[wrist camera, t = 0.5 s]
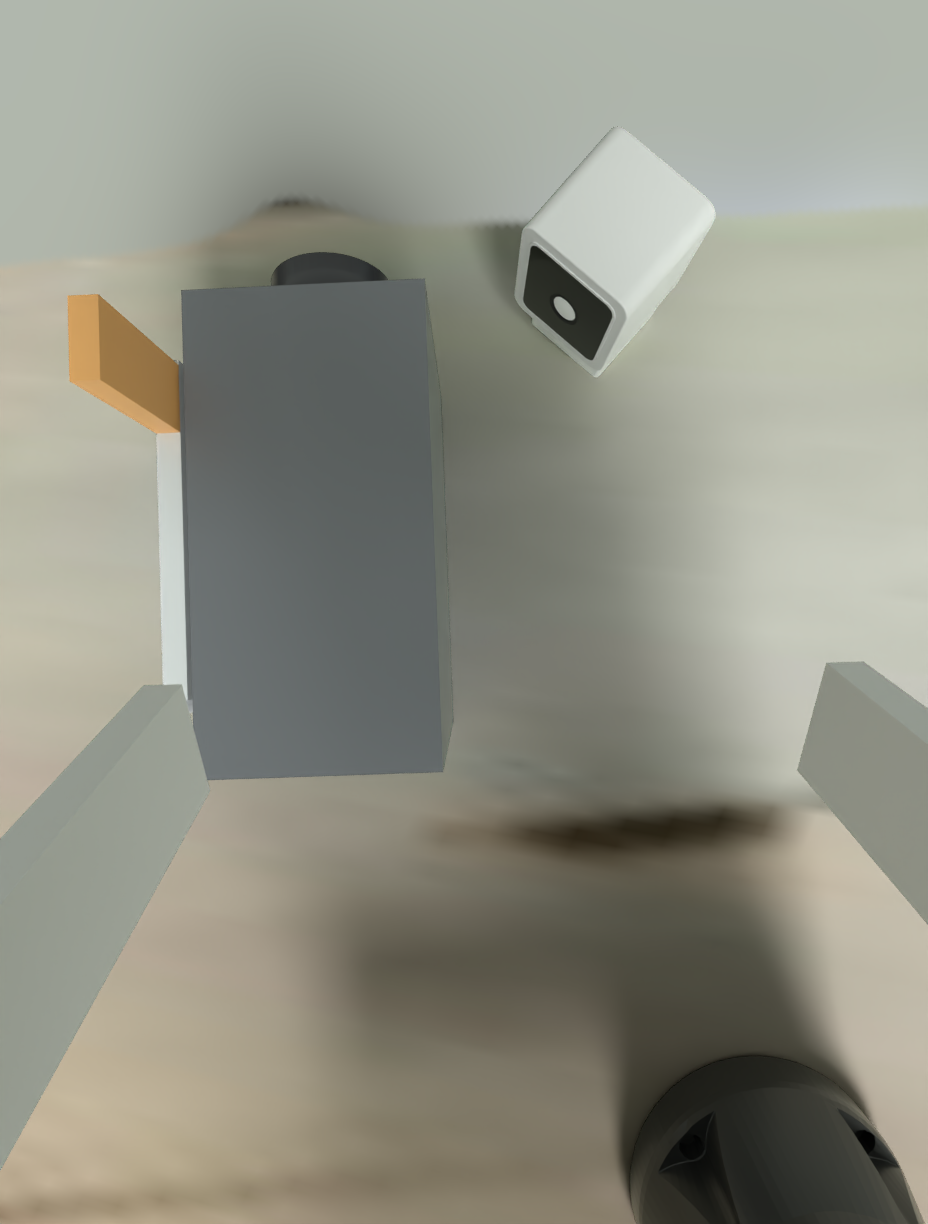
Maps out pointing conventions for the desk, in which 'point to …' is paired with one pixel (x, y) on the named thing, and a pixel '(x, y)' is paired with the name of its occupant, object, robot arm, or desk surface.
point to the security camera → (608, 249)
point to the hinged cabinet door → (154, 397)
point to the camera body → (316, 525)
